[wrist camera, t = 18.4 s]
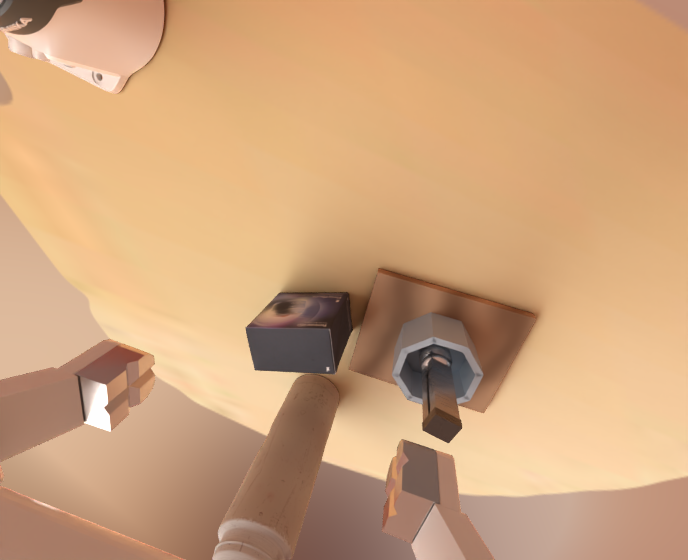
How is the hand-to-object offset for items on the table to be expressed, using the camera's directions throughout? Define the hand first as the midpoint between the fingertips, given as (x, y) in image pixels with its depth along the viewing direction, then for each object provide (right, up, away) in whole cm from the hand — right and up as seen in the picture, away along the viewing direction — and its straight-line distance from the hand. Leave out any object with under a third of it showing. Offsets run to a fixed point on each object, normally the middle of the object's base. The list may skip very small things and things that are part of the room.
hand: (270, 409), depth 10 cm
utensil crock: (+14, -5, +34) cm, 37 cm away
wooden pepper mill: (-2, -14, +43) cm, 46 cm away
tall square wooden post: (+14, -5, +33) cm, 36 cm away
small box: (-2, 0, +37) cm, 37 cm away
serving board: (+15, -4, +35) cm, 38 cm away
